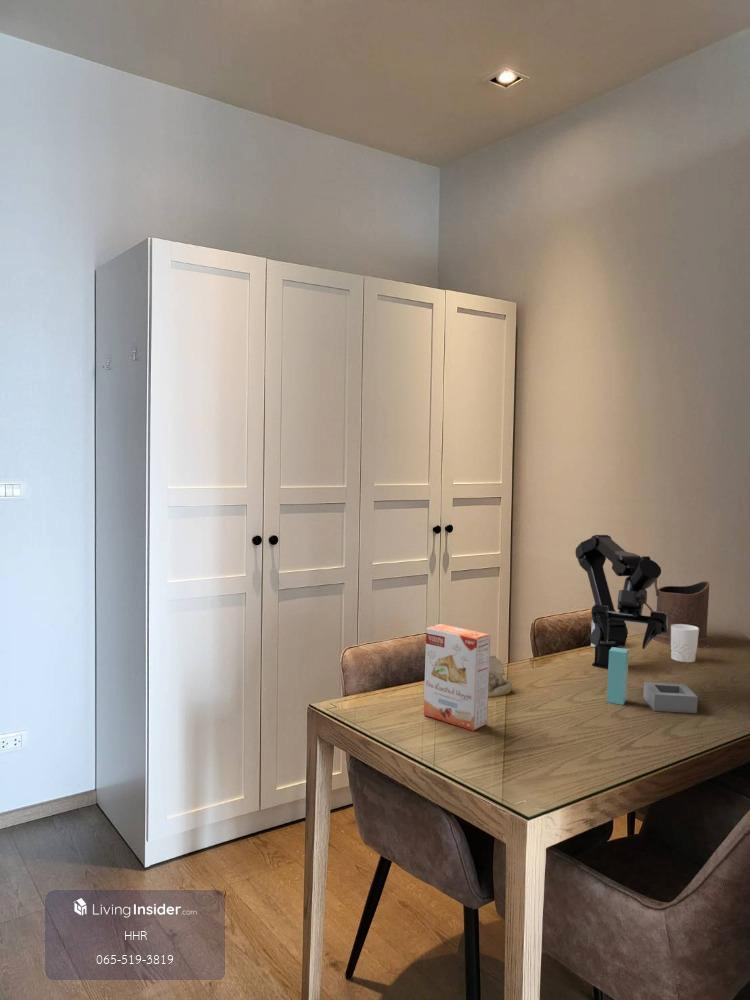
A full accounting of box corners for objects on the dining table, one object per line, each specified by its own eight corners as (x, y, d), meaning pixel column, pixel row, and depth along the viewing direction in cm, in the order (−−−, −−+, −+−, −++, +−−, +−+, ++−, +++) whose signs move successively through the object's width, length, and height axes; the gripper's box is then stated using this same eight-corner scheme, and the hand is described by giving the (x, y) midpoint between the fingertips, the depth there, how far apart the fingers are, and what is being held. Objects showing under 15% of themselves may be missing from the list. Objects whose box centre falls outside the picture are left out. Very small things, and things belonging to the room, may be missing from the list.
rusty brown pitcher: (716, 650, 244) (720, 572, 243) (637, 644, 249) (641, 568, 248) (703, 637, 263) (707, 564, 261) (630, 631, 267) (633, 560, 266)
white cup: (663, 657, 234) (665, 625, 234) (682, 655, 238) (684, 623, 237) (683, 664, 227) (685, 630, 227) (703, 661, 230) (704, 628, 230)
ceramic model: (466, 699, 190) (468, 659, 189) (448, 686, 200) (449, 648, 200) (517, 695, 194) (518, 656, 194) (496, 682, 205) (498, 645, 204)
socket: (653, 710, 185) (654, 694, 184) (643, 697, 195) (644, 682, 194) (696, 713, 184) (697, 696, 183) (684, 699, 194) (684, 684, 193)
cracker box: (422, 716, 177) (424, 626, 175) (437, 710, 181) (440, 622, 180) (472, 732, 167) (476, 637, 166) (488, 725, 172) (491, 633, 170)
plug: (606, 702, 190) (609, 650, 189) (609, 697, 194) (612, 647, 193) (623, 705, 188) (625, 652, 188) (626, 700, 192) (628, 649, 191)
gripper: (594, 574, 204) (583, 623, 195) (669, 581, 196) (661, 632, 186) (599, 599, 212) (588, 647, 202) (671, 607, 203) (663, 657, 194)
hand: (624, 645), depth 196 cm, fingers open, 9 cm apart
